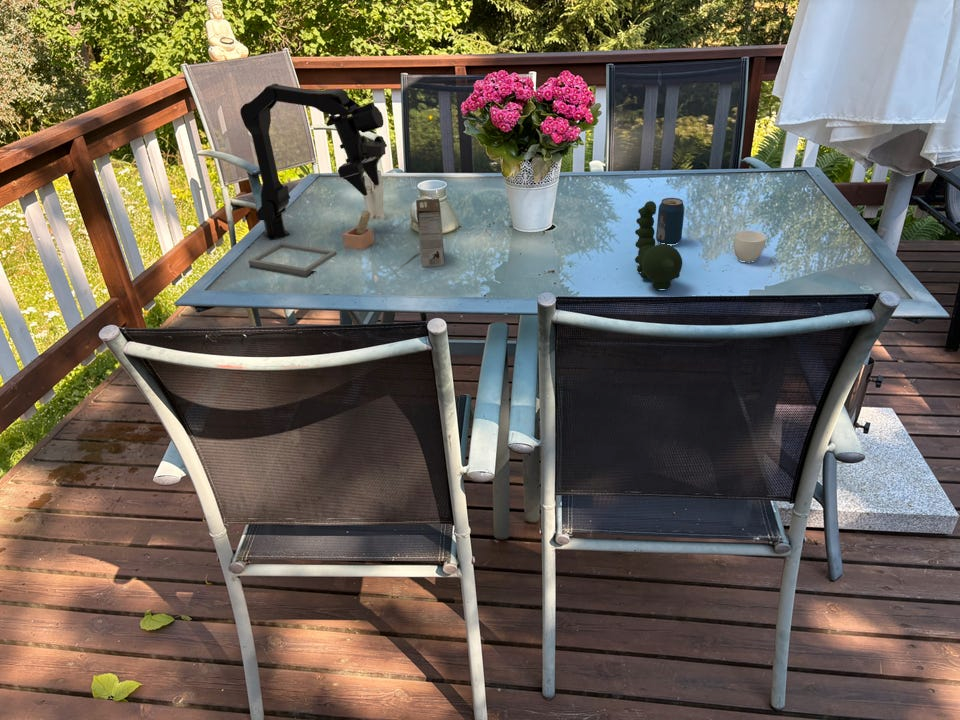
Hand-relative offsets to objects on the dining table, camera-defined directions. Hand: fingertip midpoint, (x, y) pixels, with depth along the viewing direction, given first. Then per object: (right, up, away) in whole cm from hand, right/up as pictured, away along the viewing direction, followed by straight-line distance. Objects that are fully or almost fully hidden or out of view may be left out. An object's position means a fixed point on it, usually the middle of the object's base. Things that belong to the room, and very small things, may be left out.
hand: (371, 190), depth 202 cm
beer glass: (-2, -4, +24) cm, 24 cm away
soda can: (+84, -16, -4) cm, 86 cm away
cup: (+102, -22, -15) cm, 105 cm away
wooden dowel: (-3, -16, +3) cm, 16 cm away
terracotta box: (-4, -16, +3) cm, 17 cm away
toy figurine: (+76, -28, -23) cm, 84 cm away
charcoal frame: (-21, -21, -4) cm, 30 cm away
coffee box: (+18, -21, -7) cm, 29 cm away
